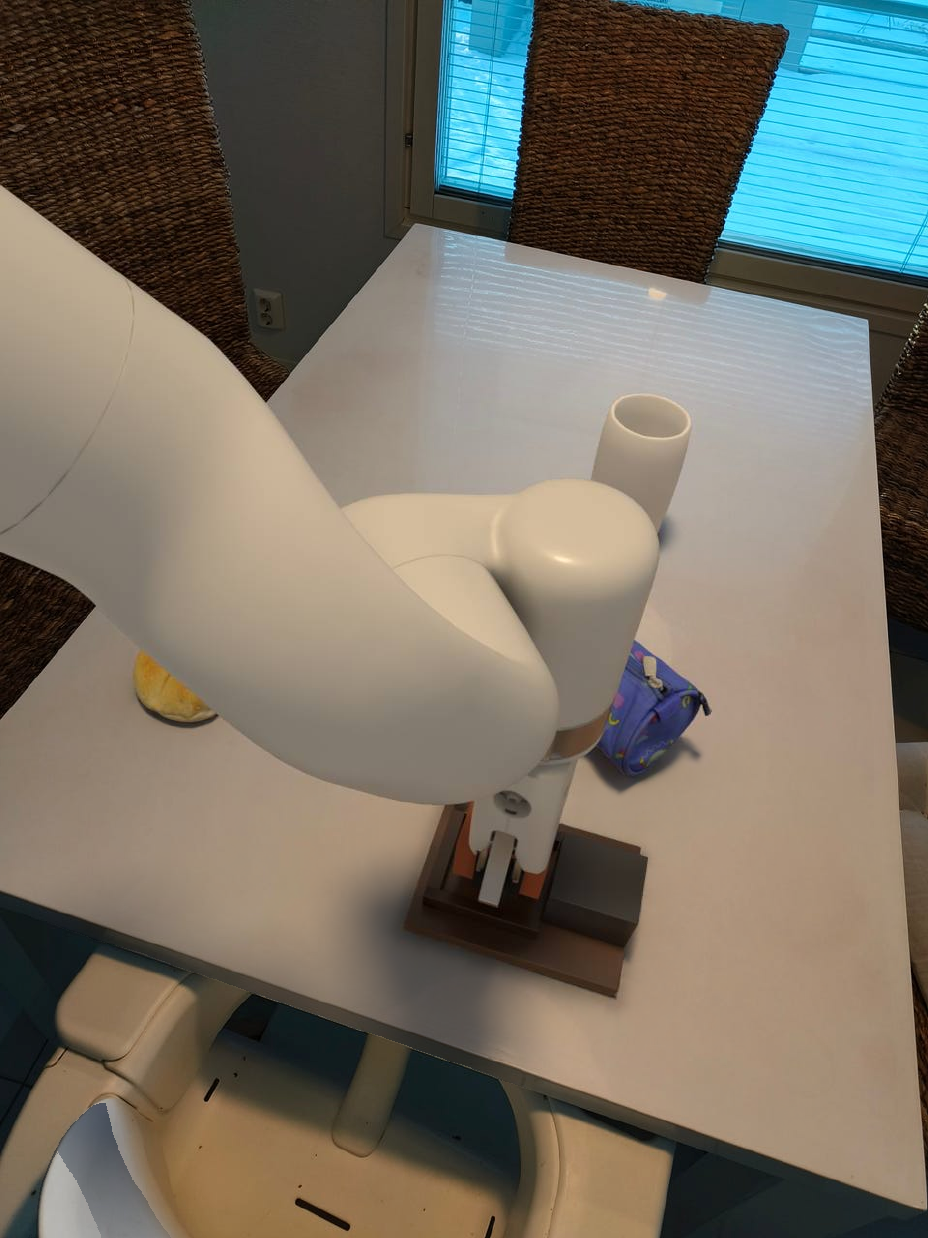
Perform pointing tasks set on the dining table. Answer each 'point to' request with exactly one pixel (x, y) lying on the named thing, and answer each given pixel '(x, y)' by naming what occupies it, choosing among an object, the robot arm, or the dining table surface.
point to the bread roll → (166, 693)
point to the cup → (643, 451)
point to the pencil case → (648, 712)
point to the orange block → (467, 858)
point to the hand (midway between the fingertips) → (505, 851)
